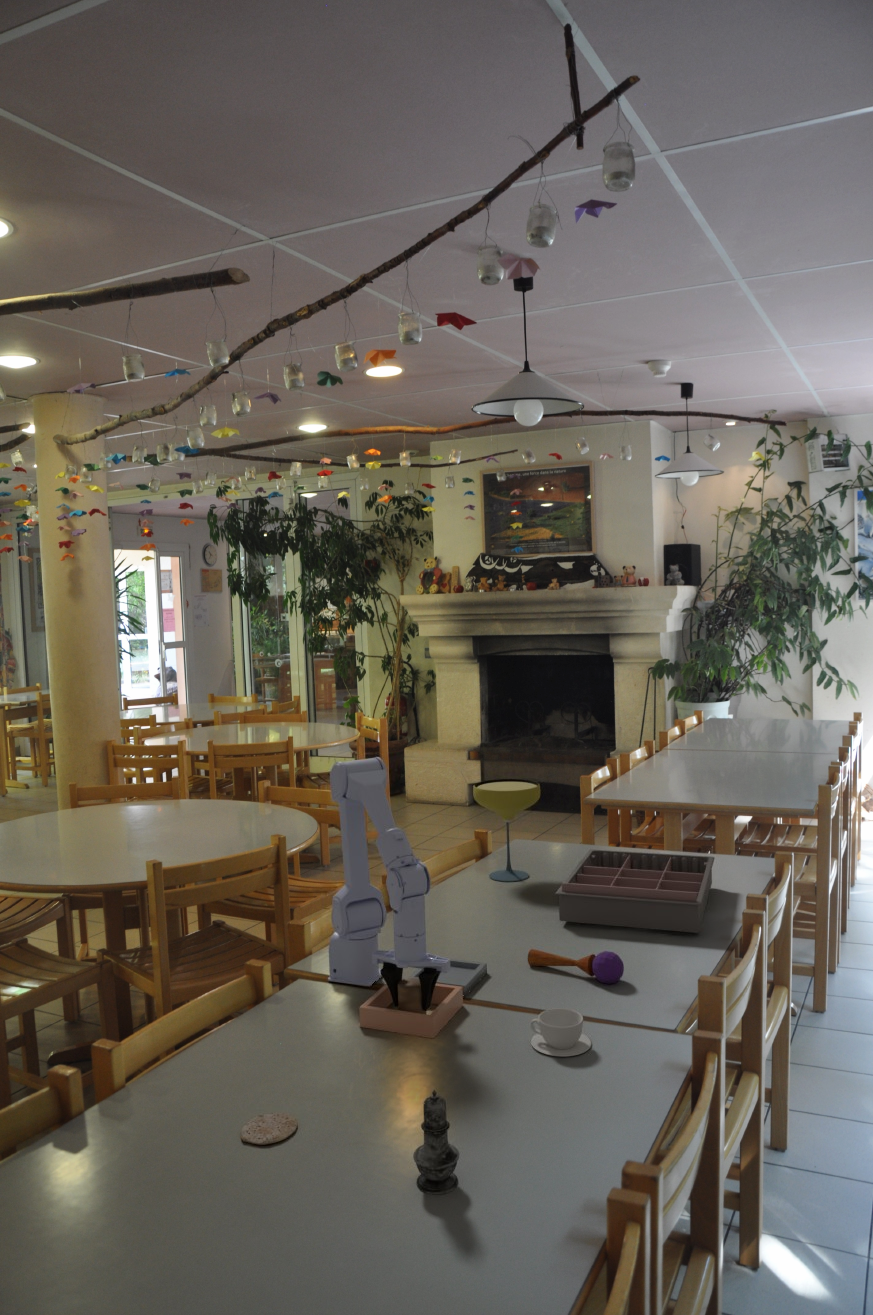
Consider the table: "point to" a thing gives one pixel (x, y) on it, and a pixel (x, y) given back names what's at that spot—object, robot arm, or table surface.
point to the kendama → (584, 964)
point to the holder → (409, 1022)
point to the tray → (460, 974)
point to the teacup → (560, 1033)
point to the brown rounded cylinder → (410, 996)
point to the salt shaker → (436, 1150)
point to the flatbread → (268, 1128)
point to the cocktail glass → (507, 811)
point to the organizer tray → (637, 890)
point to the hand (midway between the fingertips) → (412, 1006)
